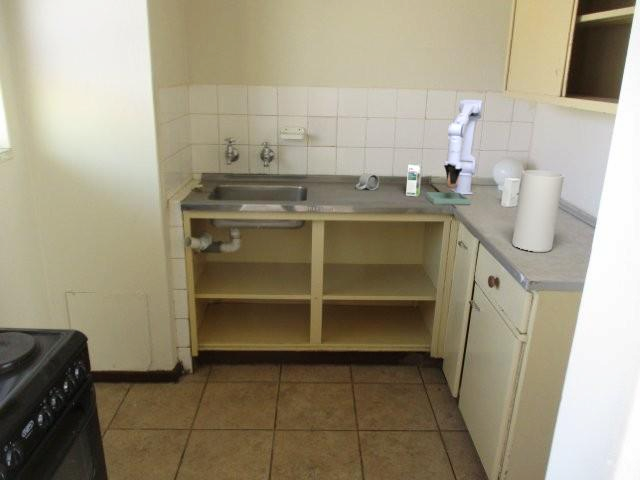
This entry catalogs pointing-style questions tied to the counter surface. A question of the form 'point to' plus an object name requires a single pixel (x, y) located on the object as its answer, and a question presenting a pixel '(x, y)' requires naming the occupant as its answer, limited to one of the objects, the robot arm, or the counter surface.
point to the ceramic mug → (368, 182)
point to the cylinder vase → (537, 210)
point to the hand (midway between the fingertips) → (451, 182)
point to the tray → (447, 198)
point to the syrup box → (413, 180)
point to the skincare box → (510, 192)
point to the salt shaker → (450, 182)
